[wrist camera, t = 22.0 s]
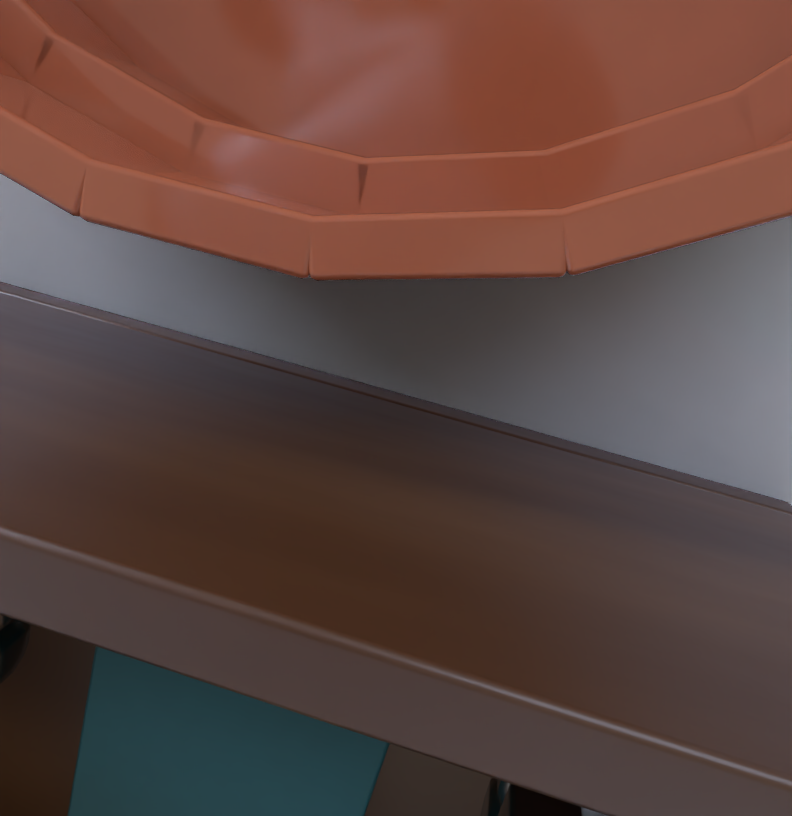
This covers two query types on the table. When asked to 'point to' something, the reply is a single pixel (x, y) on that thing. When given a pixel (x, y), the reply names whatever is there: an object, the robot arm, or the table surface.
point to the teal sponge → (210, 751)
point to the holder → (380, 578)
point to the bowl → (404, 128)
